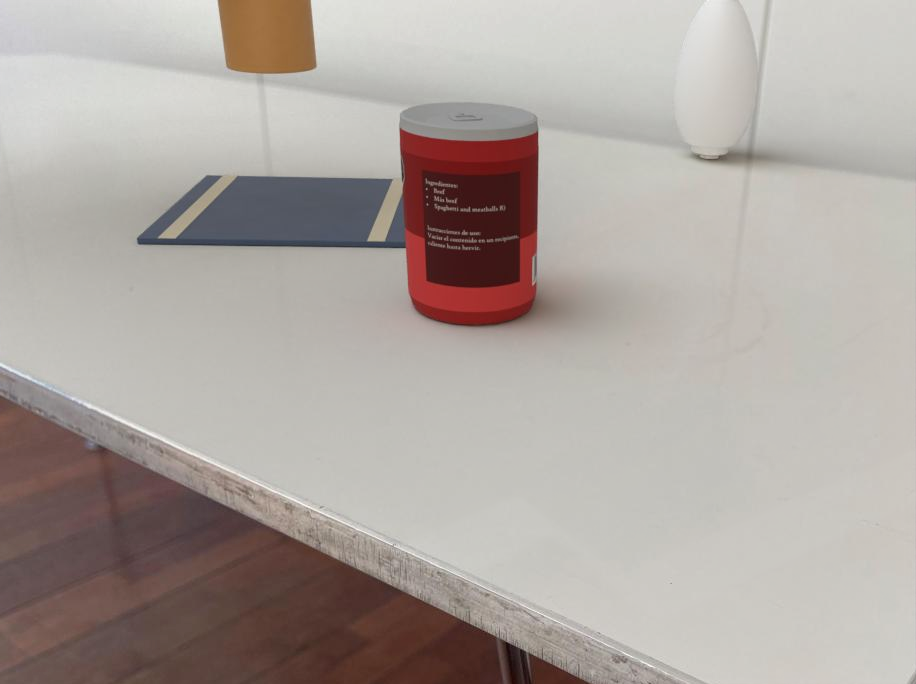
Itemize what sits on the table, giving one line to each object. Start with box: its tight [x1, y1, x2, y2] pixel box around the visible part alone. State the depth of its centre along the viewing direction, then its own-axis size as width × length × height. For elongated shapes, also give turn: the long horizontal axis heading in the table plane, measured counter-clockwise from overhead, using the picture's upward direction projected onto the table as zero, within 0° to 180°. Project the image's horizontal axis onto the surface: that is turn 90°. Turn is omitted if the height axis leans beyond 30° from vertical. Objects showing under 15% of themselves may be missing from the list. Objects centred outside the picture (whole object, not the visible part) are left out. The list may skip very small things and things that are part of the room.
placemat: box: [136, 174, 406, 248], centre depth 76 cm, size 18×18×1 cm
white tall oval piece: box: [672, 0, 759, 160], centre depth 95 cm, size 8×8×18 cm
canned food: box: [398, 101, 540, 326], centre depth 58 cm, size 8×8×11 cm
